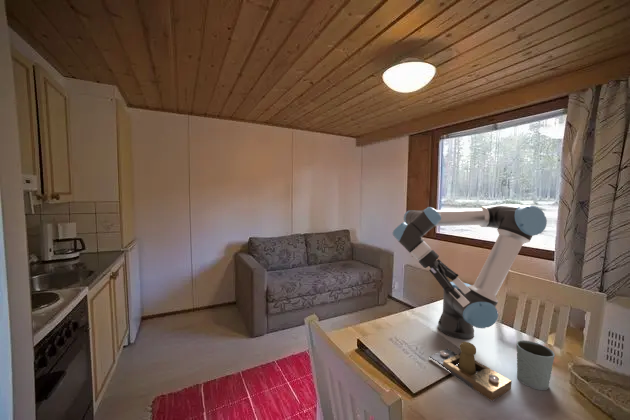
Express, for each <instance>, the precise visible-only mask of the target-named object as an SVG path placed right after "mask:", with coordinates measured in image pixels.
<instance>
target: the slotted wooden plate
mask: <svg viewBox="0 0 630 420" xmlns="http://www.w3.org/2000/svg"><path fill="white" fill-rule="evenodd" d="M460 355H461V352H460V353H459V354H458V353H456V352H454V351H453V350H451V349H449V348H446V349H443V350H441V351H438V352H436V353H433V354H431V355H429V356H428V358H429V357H430V358H432V359H433V360H435V361H437V362H438V363H439V364H441V365H442V366H443V367H445V368H446V369H447V370H449V371H450V372H451V376H453V377H454V378H456V379H458V380H460V382H461V383H464V384H465V385H467V386H468V387H469V388H471V389H473V390H474V391H476V392H477V393H479V395H482V396H483V397H485V398H486V399H488V400H489V401H490V402H493V401H495V400H496V399H497V398H498V399H499V398H500V397H501V396H502V395H505V394H506V393H507V392H509V391H511V390H512V380H511V379H509V378H507V376H504V375H502V374H500V373H498V372H496V371H495V370H493V369H492V368H489V367H488V366H486V365H484V364H482V363H481V362H479V361H478V360H475V368H476V374H474V375H472V376H471V375H470V374H468V373H467V372H465V371H463V370H462V369H460V368H458V366H455V365H456V364H458V363H459V359H460Z"/></svg>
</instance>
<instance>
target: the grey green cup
mask: <svg viewBox="0 0 630 420" xmlns="http://www.w3.org/2000/svg"><path fill="white" fill-rule="evenodd" d="M555 357H556V355H555V352H554V351H553V350H552V349H551V348H550V347H547V346H545V345H543V344H541V343H538V342H534V341H530V340H518V341H516V376H517V379H518V381H519V382H520V383H522V384H523V385H525V386H526V387H528V388H531V389H535V390H537V391H547V390H548V389H549V387H550V380H551V377H552V371H553V365H554V360H555Z"/></svg>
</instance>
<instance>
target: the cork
mask: <svg viewBox="0 0 630 420" xmlns="http://www.w3.org/2000/svg"><path fill="white" fill-rule="evenodd" d="M459 350H460V353H461V355H460V359H459V364H458V366H457V367H458V368H460V369H462V370H463V371H465V372H467V373H468V374H470V375H471V376H472V375H474V374H476V373H477V372H476V368H475V361H476V358H475V355H476V353H477V347H476V346H475V344H473V343H471V342H469V341H462V342H461V343H460V344H459Z"/></svg>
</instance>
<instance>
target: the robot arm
mask: <svg viewBox="0 0 630 420" xmlns="http://www.w3.org/2000/svg"><path fill="white" fill-rule="evenodd" d="M446 226H448V227H450V226H452V227H454V226H480V227H481V228H492V229H493V228H494V229H496V231H497V232H498V236H497V239H496V240H495V243H494V245H493V247H492V248H491V250H490V252H489V253H488V256H487V258H486V260H485V262H484V264H483V266H482V267H481V269H480V272H479V273H478V276H477V278H476V280H475V281H474V283H473V284H469V283H466V282H464V281H462V280H461V279H460V278H459V277H458V276H460V275H459V274H458V273H456V272H455V271H454V270H452V269H451V268H450V267H448V265H447V264H445V263H443V262H442V261H441V259H439V257H440V256H439V255H438V253H436V251H434V249H432V248H431V246H430V245H428V243H427V242H426V241H424V239H423V236H425V235H426V234H427V233H428V232H429V231H431V230H432V229H433V228H434V227H446ZM546 228H547V217H546V215H545V211H543V210H542V209H541V208H539V207H538V206H535V205H531V204H530V205H529V204H514V203H513V204H512V203H503V204H495V205H487V206H485V205H484V206H479V207H478V208H458V209H455V208H454V209H435V208H434V207H433V206H432V207H431V206H427V207H426V208H424V209H422V210H421V209H420V210H419V209H418V210H415V209H411V210H410V209H409V210H407V211H406V212H405V213H404V215H403V222H402V223H400V224H399V225H397V227H395V228H394V230H392V236H393V237H394V238H395V239H396V240H397V241H398V243H399V244H400V245H401V246H403V247H404V248H405V250H406V251H407V252H408V253H409V254H410V257H412V258H414V259H415V260H416V261H417V260H418V263H419V264H420V265H421V266H422V268H424V269H426V268H428V267H429V268H430V269H429V270H428V271H429V272H430V273H431V274H432V275H433V277H434V278H435V280H436V281H437V282H438V284H439V285H440V286H441V287H442V291H443V298H442V301H443V303H442V313H441V315H440V317H439V320H438V325H437V326H438V327H437V328H438V330H439V331H441V333H443V334H445V335H446V336H449V337H452V338H455V339H462V340H464V339H465V340H469V339H471V338H473V337H474V335H475V328H477V329H486V328H489V327H492V326H493V325H494V324H495V323H496V322H497V321H498V319H499V313H498V309H497V307H496V306H497V304H498V303H499V300H498V298H497V295H498V293H499V291H500V289H501V287H502V285H503V283H504V282H505V279H507V276H508V274H509V272H510V269H511V268H512V266H513V264H514V262H515V261H516V258H517V257H518V254H519V253H520V251H521V249H522V247H523V246H524V244H528V243H530V242H531V240H532V238H533V237H535V236H538V235H539V234H542V233H543V232H544V231H545V229H546ZM449 279H450V280H452V281H450V280H449Z"/></svg>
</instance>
